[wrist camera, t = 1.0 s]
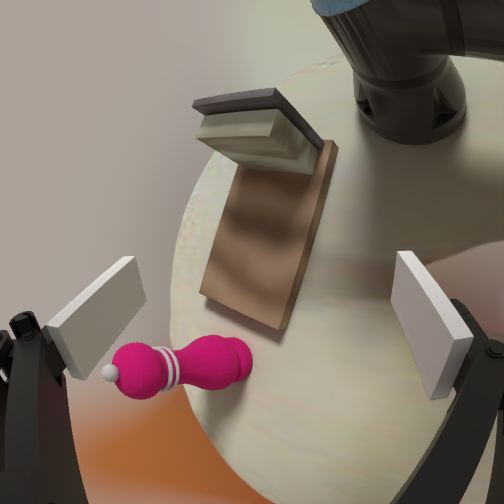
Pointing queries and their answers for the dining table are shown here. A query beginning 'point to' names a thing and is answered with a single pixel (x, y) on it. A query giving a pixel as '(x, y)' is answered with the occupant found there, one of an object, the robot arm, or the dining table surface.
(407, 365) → the dining table surface
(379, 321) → the dining table surface
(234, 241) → the wooden bookend
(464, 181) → the dining table surface
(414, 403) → the dining table surface
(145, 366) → the pepper mill
